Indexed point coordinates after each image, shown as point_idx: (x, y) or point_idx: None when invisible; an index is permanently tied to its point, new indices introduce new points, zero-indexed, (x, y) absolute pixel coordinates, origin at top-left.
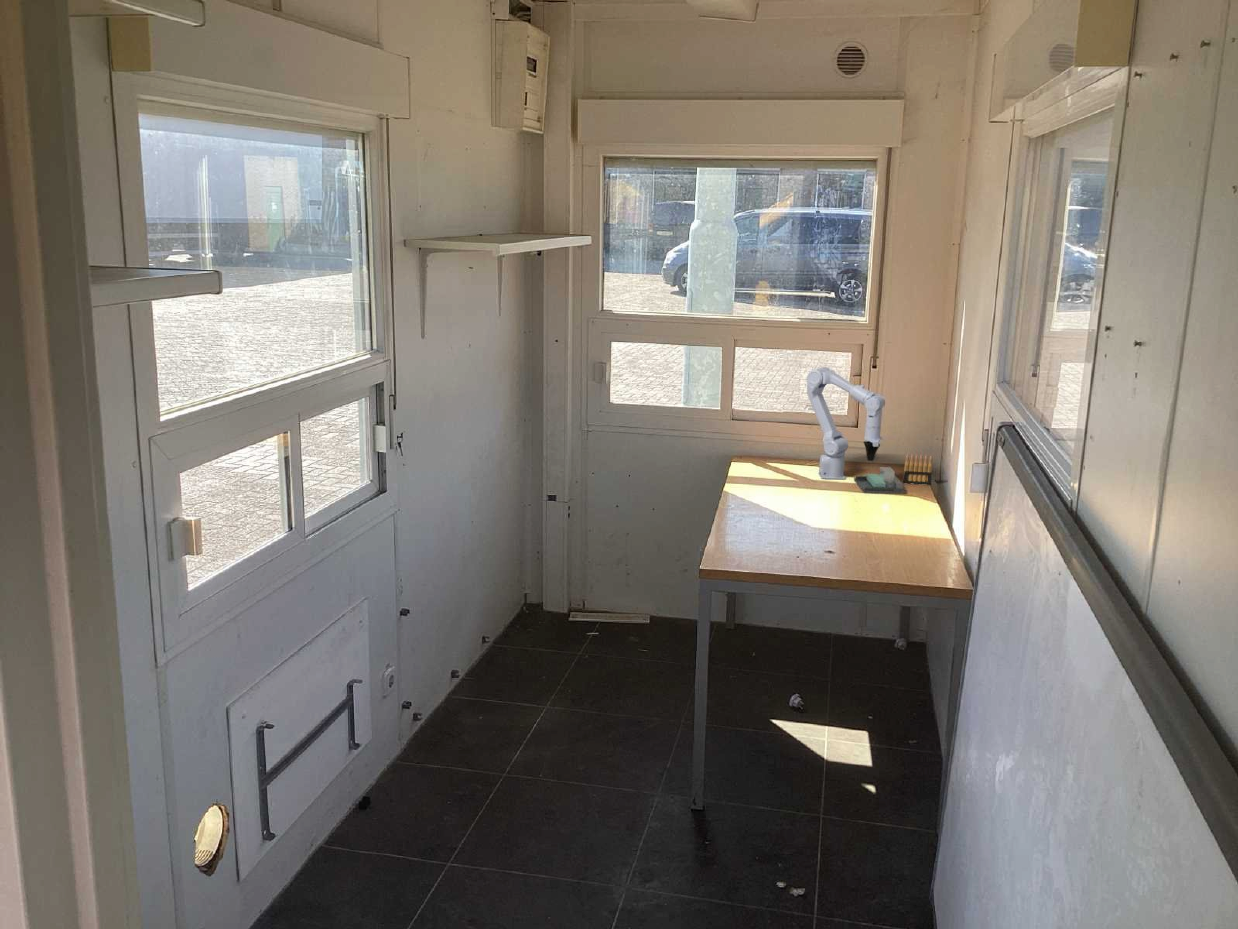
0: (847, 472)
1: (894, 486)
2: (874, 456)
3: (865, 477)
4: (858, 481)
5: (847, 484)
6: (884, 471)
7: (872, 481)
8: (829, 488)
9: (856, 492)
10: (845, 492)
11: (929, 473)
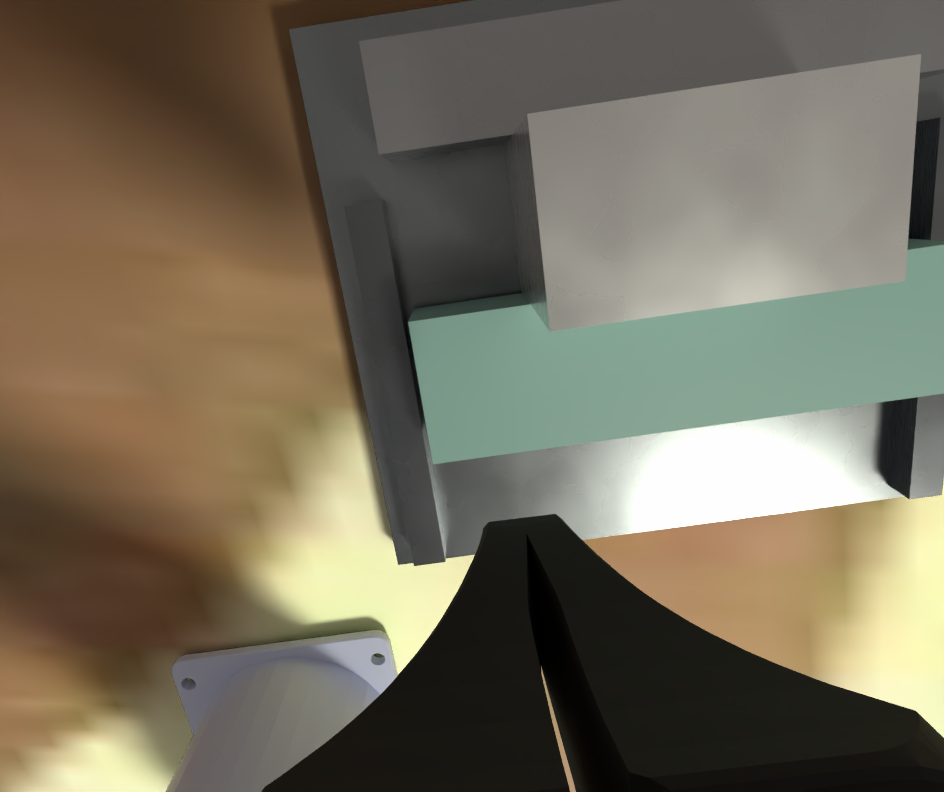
0: (63, 595)
1: None
2: (593, 551)
3: (428, 457)
4: None
5: None
6: (884, 274)
7: (767, 410)
8: None
9: (882, 549)
10: (883, 645)
11: None
